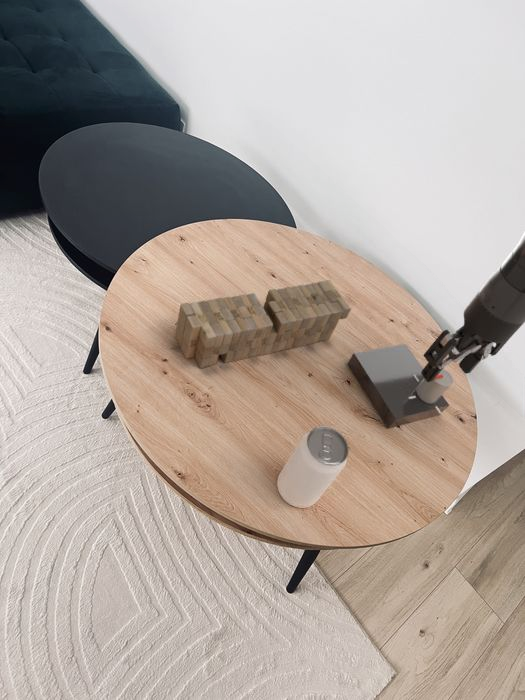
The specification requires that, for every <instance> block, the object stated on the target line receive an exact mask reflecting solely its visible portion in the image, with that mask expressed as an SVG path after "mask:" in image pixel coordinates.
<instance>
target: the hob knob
mask: <svg viewBox="0 0 525 700" xmlns="http://www.w3.org/2000/svg"><path fill="white" fill-rule="evenodd" d="M453 383H454V379H453V376H452V375H451V373H450V372H449V371H448V370H447V369H445V368H443V369H442V370H441V372H440V373H439V374H438V375H437V376H436V378H435V379H434V380H433V381H431V382H427V381H426V380H425V378H424V379H423V380H422V382H421V383H420V384H419V385H418V386H417V389H416V392H417V395H418V396H419V397H420V399H422V400H423V401H424V402H427V403H431V404H432V403H435V402H437V400H438V399H439V398H440V397H441V396H442V395H443V396H444V394H445V393H446V392H447V391H448V390H449V388H450V387H451V386H452V385H453Z"/></svg>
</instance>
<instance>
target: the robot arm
mask: <svg viewBox="0 0 525 700" xmlns="http://www.w3.org/2000/svg"><path fill="white" fill-rule="evenodd" d="M524 324H525V231H524V232H523V234H522V236H521V238H520V239H519V242H518V243H517V245H516V246H515V247H514V248H513V250H512V251H511V252H510V253H509V255H508V256H507V257H506V259H504V261H503V263H502V264H501V265H500V266H499V267H498V268H497V269H496V270H495V271H494V272H493V273H492V274H491V275H490V276H489V278H488V279H487V280H486V281H485V282H484V284H483V285H482V287H481V288H480V289H479V290H478V292H477V293H476V295H474V297H473V298H472V300H471V301H470V302H469V303H468V305H467V306H465V308H464V311H463V325H462V326H461V327H460V328H459V329H457V330H456V331H455V333H451V331H450V330H449V329H445V330H443V331H441V332H440V334H439V335H438V336H437V338H436V339H435V340H434V341H433V342H432V344H431V345H430V347H429V348H428V349H426V351H425V352H424V354H423V355H422V356H423V357H424V359H425V360H426V361H427V364H426V365H425V366H424V367H423V370H422V372H421V374H422V375H423V377H424V378H425V380H426V381H427V382H431V381H433V380H434V379H435V378H436V376H437V375H438V374H439V373H440V372H441V370H442V369H445V367H447V366H448V365H450V364H451V363H452V362H453V363H457V362H459V361H460V362H459V363H458V366H459V368H460V370H462V372H463V373H464V374H470V373H471V372H472V371H473V370H474V369H475V368H476V367H477V366H478V365H479V364H480V362H481V361H484V360H486V359H487V358H488V357H489V355H490V356H491V357H494V356H497V354H498V353H499V352H500V350H501V349H502V348H503V347H504V346H505V345H506V344H507V342H508V341H509V340H510V339H511V338H512V337H513V336H514V335H515V334H516V332H518V330H519V329H520V328H521V327H522V326H523V325H524ZM494 344H495V345H494ZM453 350H456V352H458V353H454V351H453Z"/></svg>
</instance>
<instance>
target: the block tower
mask: <svg viewBox="0 0 525 700" xmlns="http://www.w3.org/2000/svg"><path fill="white" fill-rule="evenodd" d="M351 311H352V307H351V306H350V305H349V303H348V302H347V301H346V299H345V298H344V296H343V295H342V294H341V292H340V291H339V290H338V289H337V287H336V286H335V285H334V284H333V282H332V281H331V280H330V279H328V280H322V281H318V282H312V283H309V284H300V285H295V286H291V287H290V286H286V287H283V288H278V289H276V288H272V289H269V290H268V291H267V294H266V296H265V301H264V304H263V305H262V304H261V302H260V301H259V299H258V297H257V295H256V294H255V293H248V294H246V293H244V294H240V295H234V296H231V297H230V296H228V297H218V298H215V299H214V298H213V299H207V300H200V301H197V302H196V301H195V302H185V303H181V304H180V306H179V312H178V317H177V321H176V322H177V323H176V328H175V334H174V337H175V339H176V341H177V343H178V345H179V346H180V349H181V350H180V351H181V352H182V353H183V355H184V357H185V359H192V358H195V361H196V362H197V364H198V366H199V368H200V369H206V368H208V367H212V366H217V363H218V360H219V357H220V358H221V359H222V361H223V363H225V364H226V363H231V362H235V361H236V362H237V361H239V360H240V361H241V360H245V359H247V358H253V357H258V356H262V355H269V354H273V353H277V352H279V351H284V350H289V349H292V348H293V349H294V348H297V347H302V346H303V347H304V346H306V345H310V344H315V343H317V342H322V341H328V340H330V338H331V337H332V335H333V333H334V331H335V329H336V327H337V326H338V323H339V321H340V320H345V319H347V318H348V316H349V314H350V312H351Z"/></svg>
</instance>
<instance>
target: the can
mask: <svg viewBox="0 0 525 700" xmlns="http://www.w3.org/2000/svg"><path fill="white" fill-rule="evenodd" d="M349 451H350V449H349V445H348V442H347V440H346V438H345V437H344V435H343V434H342V433H340V432H339V431H338V430H336V429H334V428H333V427H330V426H325V425H320V426H316V427H314V428H313V429H311V430H310V431H307V432H306V433H305V434H304V435H303V437H302V438H301V439H300V441H299V442H298V444H297V445H296V447H295V448H294V450H293V452H292V453H291V455H290V456H289V458H288V459H287V462H286V463H285V464H284V465H283V468H282V469H281V471H280V473H279V474H278V477H277V482H276V485H277V490H278V492H279V495H280V497H281V498H282V499H283V500H284V501H285V502H286V503H287V504H289V505H290V506H293V507H295V508H301V509H306V508H309V507H312V506H313V505H315V504H316V503H317V502H318V501H319V499H320V498H321V497H322V496H323V495H324V493H325V492H326V491H327V489H328V488H329V487H330V486H331V484H332V483H333V482H334V481H335V479H336V478H337V477H338V476H339V474H340V473H341V472H342V471H343V469H344V468H345V467H346V464H347V461H348V457H349V453H350V452H349Z"/></svg>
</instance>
